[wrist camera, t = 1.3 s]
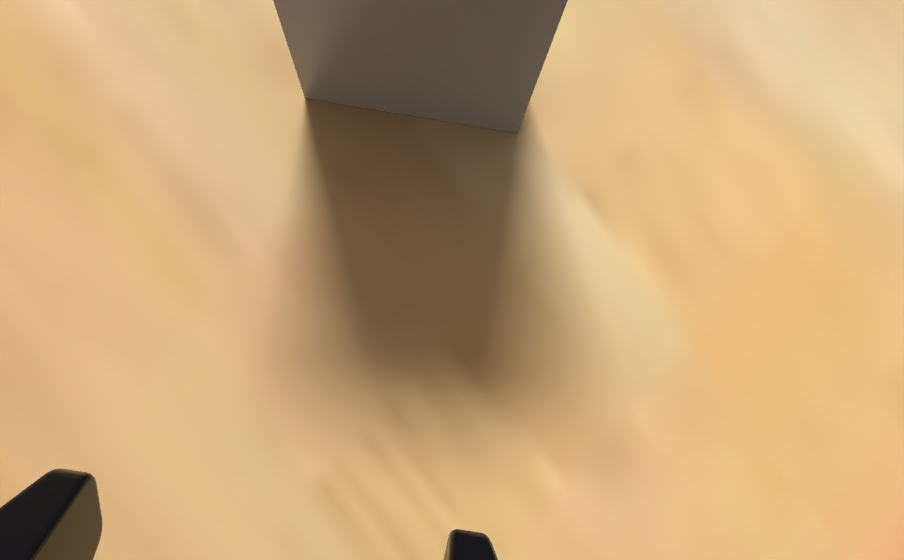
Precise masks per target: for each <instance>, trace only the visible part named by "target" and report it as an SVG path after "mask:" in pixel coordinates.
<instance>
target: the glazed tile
mask: <svg viewBox="0 0 904 560" xmlns="http://www.w3.org/2000/svg"><path fill="white" fill-rule="evenodd" d="M273 1H274V4H275V7H276V10H277V13H278V16H279V19H280V22H281V25H282V28H283V32H284V35H285V38H286V41H287V44H288V47H289V50H290V53H291V56H292V59H293V62H294V65H295V68H296V71H297V74H298V78H299V81H300V84H301V87H302V90H303V93H304V96H305V98H306V99H313V100H319V101H325V102H331V103H337V104H343V105H349V106H355V107H361V108H367V109H373V110H379V111H385V112H391V113H398V114H404V115H410V116H416V117H422V118H428V119H434V120H440V121H446V122H452V123H458V124H464V125H470V126H476V127H483V128H489V129H495V130H501V131H507V132H513V133H518V130H519V127H520V125H521V122H522V119H523V117H524V114H525V111H526V109H527V106H528V104H529V101H530V98H531V96H532V93H533V90H534V88H535V85H536V82H537V80H538V77H539V74H540V72H541V69H542V67H543V64H544V61H545V59H546V56H547V53H548V51H549V48H550V45H551V43H552V40H553V37H554V35H555V32H556V30H557V27H558V24H559V22H560V19H561V16H562V14H563V11H564V8H565V6H566V3H567V0H273Z"/></svg>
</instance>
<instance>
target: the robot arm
mask: <svg viewBox="0 0 904 560" xmlns="http://www.w3.org/2000/svg"><path fill="white" fill-rule="evenodd" d="M101 532H102V516H101V509H100V503H99V497H98V491H97V485H96V481H95V478H94V477H93V476H92V475H91V474H90V473H86V472H80V471H73V470H67V469H55V470H52V471H50V472H48V473H46V474H45V475H44V476H42V477H41V478H40V479H38V480H37V481H35V482H34V483H33V484H31V485H30V486H29V487H27V488H26V489H25V490H23V491H22V492H21V493H19V494H18V495H17V496H15V497H14V498H13V499H11V500H10V501H9V502H7V503H6V504H5V505H3V506H2V507H1V508H0V560H93V558H94V555H95V552H96V550H97V547H98V544H99V541H100V537H101ZM444 560H498V559H497V556H496V554H495V551H494V548H493V546H492V543H491V541H490V539H489V538H488V536H487V535H485V534H483V533H478V532H472V531H465V530H459V529H455V530H453V531H451V533H450V535H449V538H448V542H447V546H446V551H445V555H444Z"/></svg>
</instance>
